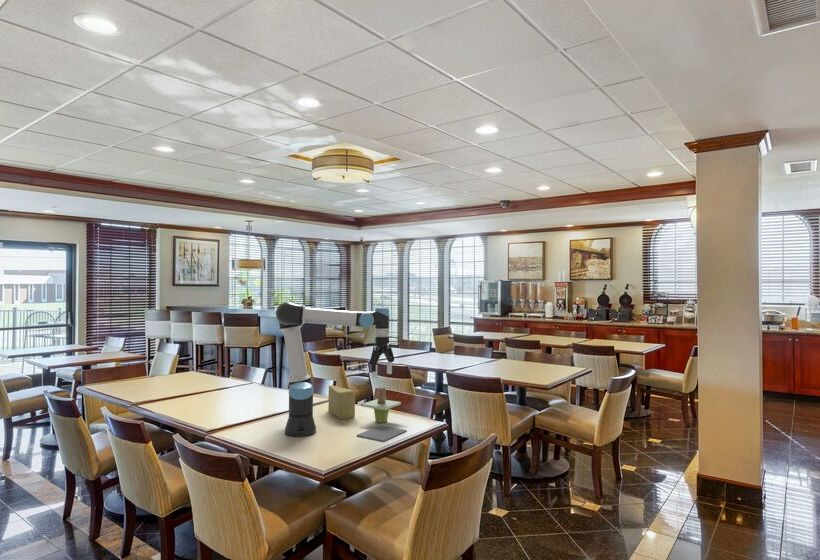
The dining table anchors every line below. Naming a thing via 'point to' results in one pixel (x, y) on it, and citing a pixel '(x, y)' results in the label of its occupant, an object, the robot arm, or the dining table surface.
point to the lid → (381, 401)
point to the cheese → (341, 402)
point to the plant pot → (381, 415)
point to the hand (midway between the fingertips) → (382, 375)
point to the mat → (381, 433)
